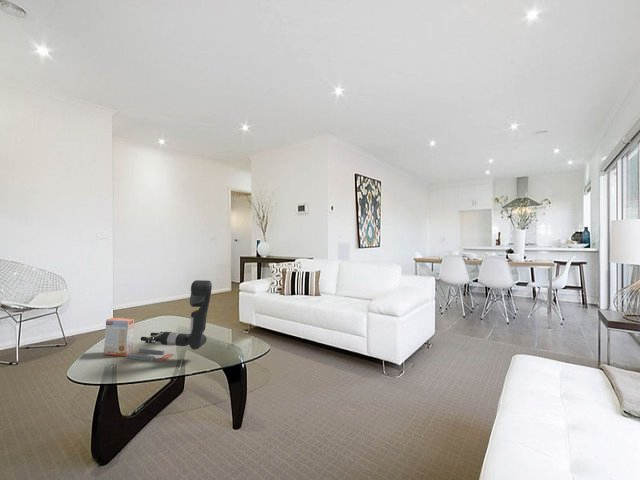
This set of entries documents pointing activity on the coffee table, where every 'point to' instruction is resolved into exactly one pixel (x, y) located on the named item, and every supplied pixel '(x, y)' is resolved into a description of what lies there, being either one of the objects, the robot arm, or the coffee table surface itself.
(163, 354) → the channel
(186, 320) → the coffee table surface
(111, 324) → the cracker box
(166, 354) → the pad
